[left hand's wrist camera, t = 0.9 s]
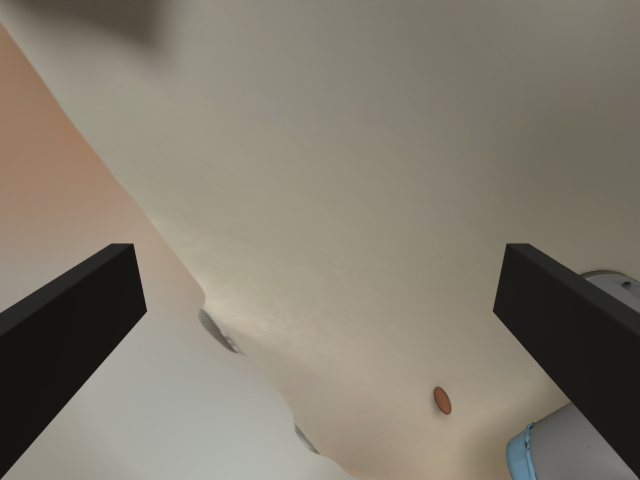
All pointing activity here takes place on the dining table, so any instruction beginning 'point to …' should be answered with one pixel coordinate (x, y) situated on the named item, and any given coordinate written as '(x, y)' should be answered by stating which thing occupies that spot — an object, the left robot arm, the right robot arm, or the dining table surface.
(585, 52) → the dining table surface
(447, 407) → the brown ellipsoid
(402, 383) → the dining table surface
